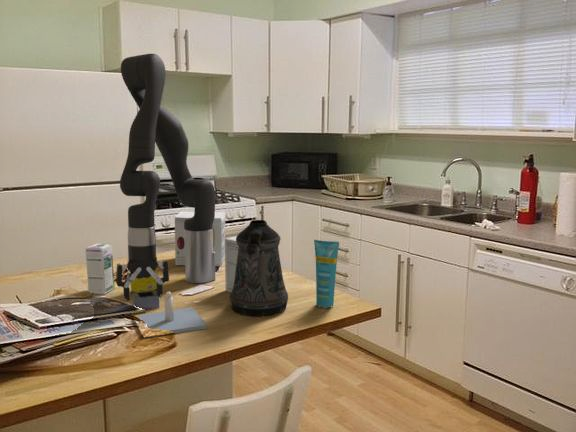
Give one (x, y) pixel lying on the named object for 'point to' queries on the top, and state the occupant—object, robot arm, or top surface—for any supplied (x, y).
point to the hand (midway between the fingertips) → (143, 298)
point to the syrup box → (100, 268)
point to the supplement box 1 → (144, 284)
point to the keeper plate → (174, 318)
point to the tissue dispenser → (146, 299)
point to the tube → (325, 271)
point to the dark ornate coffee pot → (258, 273)
